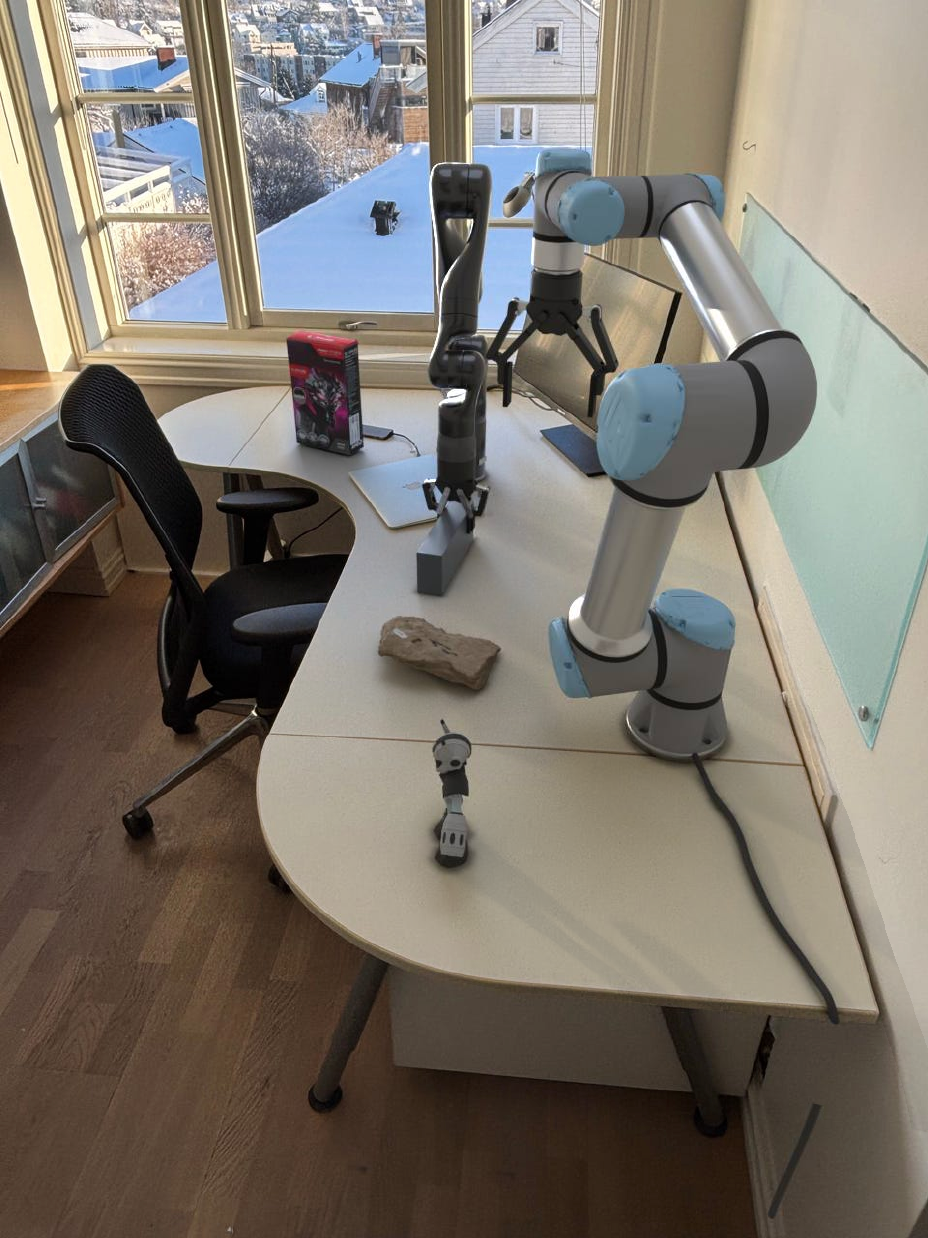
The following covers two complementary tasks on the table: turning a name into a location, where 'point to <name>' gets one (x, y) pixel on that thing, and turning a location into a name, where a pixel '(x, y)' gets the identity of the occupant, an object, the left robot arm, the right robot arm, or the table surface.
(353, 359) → the graphics card box
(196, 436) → the table surface
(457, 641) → the stone
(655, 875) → the table surface
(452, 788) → the robot
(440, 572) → the bar
